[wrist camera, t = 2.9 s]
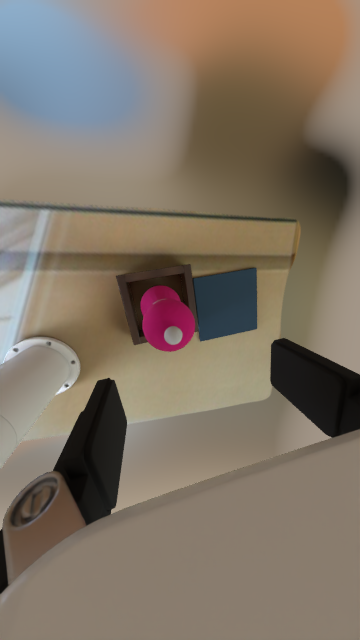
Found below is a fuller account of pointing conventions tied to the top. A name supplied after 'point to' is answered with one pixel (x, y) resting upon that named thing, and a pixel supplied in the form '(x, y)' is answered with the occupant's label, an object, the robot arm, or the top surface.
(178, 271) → the stand
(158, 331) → the pepper mill
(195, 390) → the top surface
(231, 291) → the mat
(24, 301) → the top surface
